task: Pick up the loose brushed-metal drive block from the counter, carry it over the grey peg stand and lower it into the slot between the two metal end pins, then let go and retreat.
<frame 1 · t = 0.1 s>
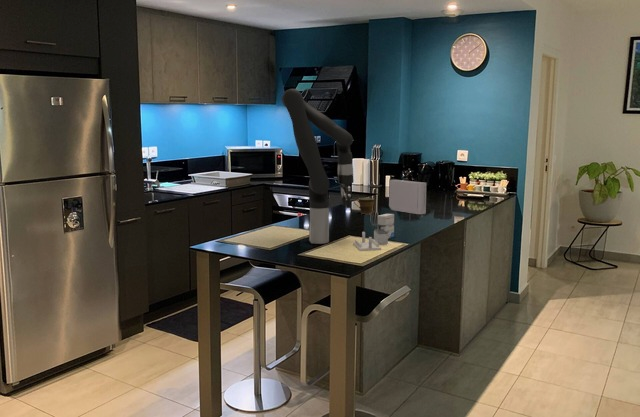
hand: (346, 206, 279), 17 cm above the breakfast bar, tool pointing down, fingers open, 8 cm apart
drive: (380, 243, 277), on the breakfast bar
grey peg stand: (366, 247, 268), on the breakfast bar
game console: (406, 212, 373), on the breakfast bar
ceramic cup: (364, 214, 363), on the breakfast bar
ink box: (385, 237, 290), on the breakfast bar
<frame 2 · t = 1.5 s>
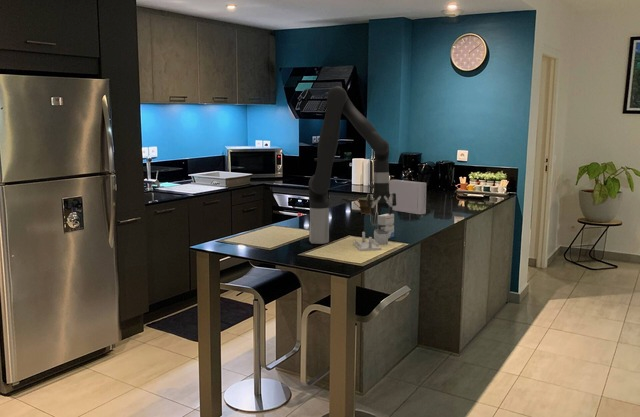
hand: (381, 215, 275), 14 cm above the breakfast bar, tool pointing down, fingers open, 8 cm apart
nothing on the breakfast bar moved.
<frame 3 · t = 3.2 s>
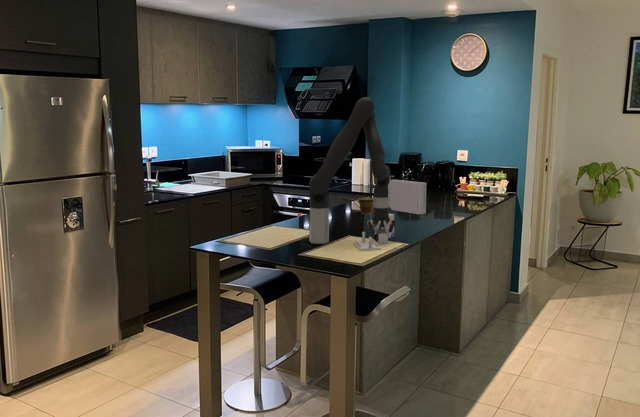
hand: (380, 240, 277), 1 cm above the breakfast bar, tool pointing down, fingers closed on drive, 4 cm apart
drive: (380, 242, 277), on the breakfast bar, touching gripper
everything else where it was.
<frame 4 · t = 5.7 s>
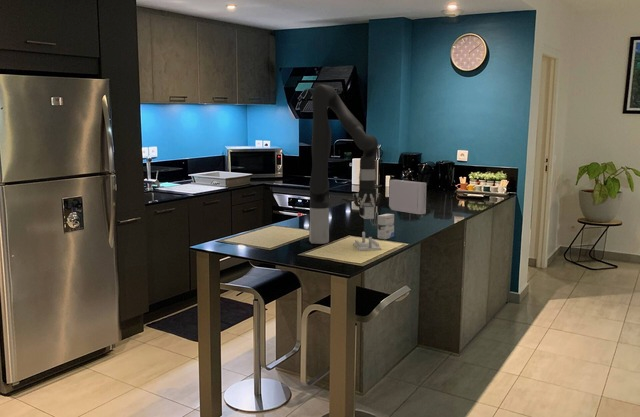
hand: (366, 215, 266), 15 cm above the breakfast bar, tool pointing down, fingers closed on drive, 4 cm apart
drive: (366, 217, 266), point 14 cm above the breakfast bar, touching gripper
everything else where it was.
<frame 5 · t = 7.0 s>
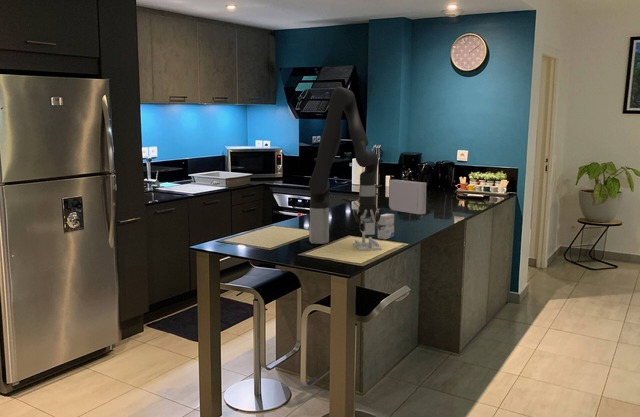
hand: (367, 230, 267), 8 cm above the breakfast bar, tool pointing down, fingers closed on drive, 4 cm apart
drive: (367, 232, 267), point 7 cm above the breakfast bar, touching gripper
everything else where it was.
when the fingers open (3 cm above the breakfast bar, at t = 8.2 s): drive drops 1 cm, resting on grey peg stand.
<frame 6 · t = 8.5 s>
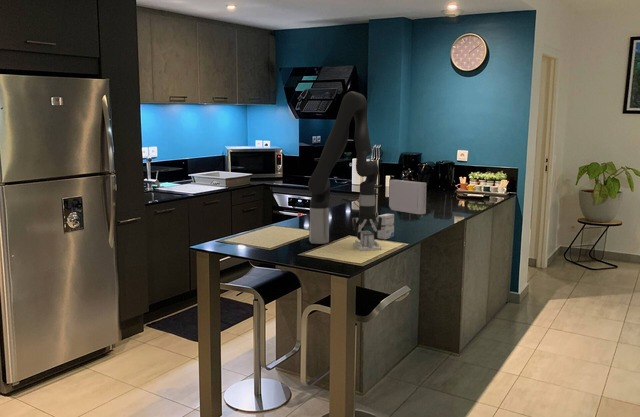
hand: (366, 239, 267), 4 cm above the breakfast bar, tool pointing down, fingers open, 6 cm apart
drive: (366, 244, 268), point 1 cm above the breakfast bar, touching grey peg stand
everything else where it was.
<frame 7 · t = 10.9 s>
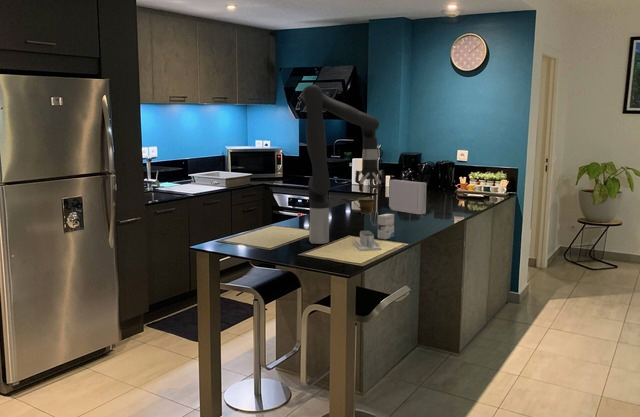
hand: (369, 191, 279), 24 cm above the breakfast bar, tool pointing down, fingers open, 8 cm apart
nothing on the breakfast bar moved.
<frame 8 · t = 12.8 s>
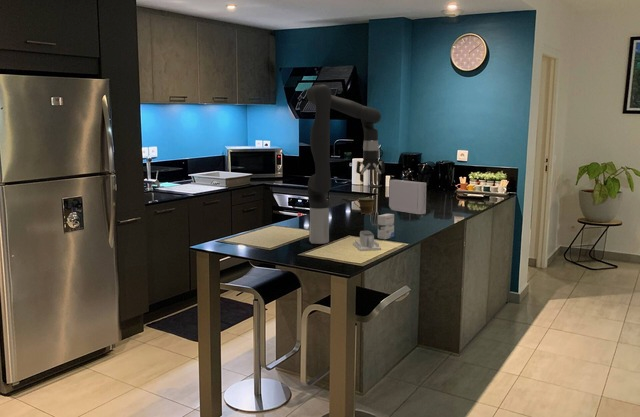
hand: (370, 181, 289), 28 cm above the breakfast bar, tool pointing down, fingers open, 8 cm apart
nothing on the breakfast bar moved.
at the end: drive inside the target area (0.0 cm from its centre), point 1.0 cm above the breakfast bar; drive tilted 0°; the gripper is holding nothing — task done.
